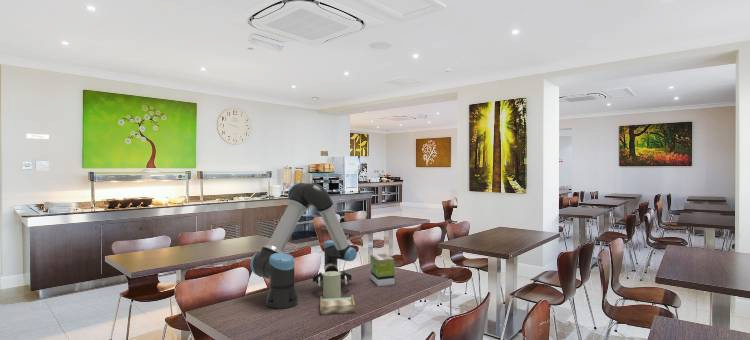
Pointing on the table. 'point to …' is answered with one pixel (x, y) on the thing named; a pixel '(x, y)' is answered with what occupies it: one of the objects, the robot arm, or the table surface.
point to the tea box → (382, 269)
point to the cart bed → (337, 306)
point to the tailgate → (336, 299)
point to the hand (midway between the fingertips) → (332, 282)
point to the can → (332, 284)
